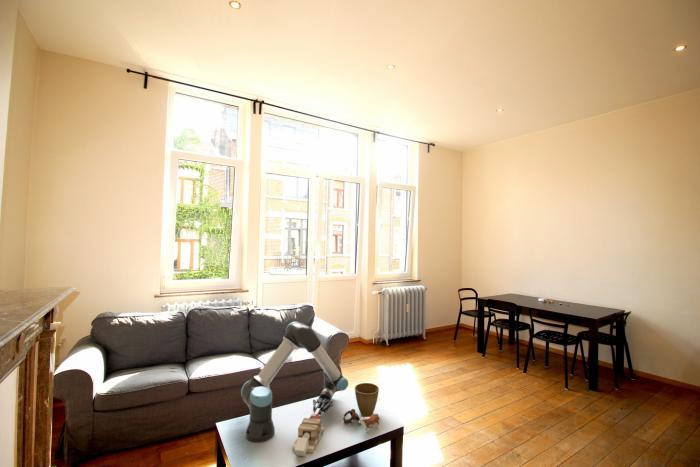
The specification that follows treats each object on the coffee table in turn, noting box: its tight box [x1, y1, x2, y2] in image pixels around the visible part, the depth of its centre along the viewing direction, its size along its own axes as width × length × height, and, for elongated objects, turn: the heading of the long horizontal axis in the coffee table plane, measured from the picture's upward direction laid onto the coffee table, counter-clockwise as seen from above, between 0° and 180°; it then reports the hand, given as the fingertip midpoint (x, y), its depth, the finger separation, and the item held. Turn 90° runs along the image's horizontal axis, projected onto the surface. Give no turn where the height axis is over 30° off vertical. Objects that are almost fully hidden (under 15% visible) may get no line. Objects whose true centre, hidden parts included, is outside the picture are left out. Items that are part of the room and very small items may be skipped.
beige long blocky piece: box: [291, 417, 325, 454], centre depth 177 cm, size 20×11×8 cm, turn 170°
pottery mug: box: [342, 408, 362, 426], centre depth 195 cm, size 12×10×8 cm
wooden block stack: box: [302, 413, 322, 440], centre depth 179 cm, size 20×7×7 cm, turn 170°
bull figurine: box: [358, 413, 380, 434], centre depth 188 cm, size 4×13×8 cm, turn 122°
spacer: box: [294, 436, 309, 457], centre depth 165 cm, size 6×5×5 cm
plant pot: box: [354, 382, 380, 418], centre depth 205 cm, size 15×15×16 cm
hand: (315, 416), depth 189 cm, fingers closed
